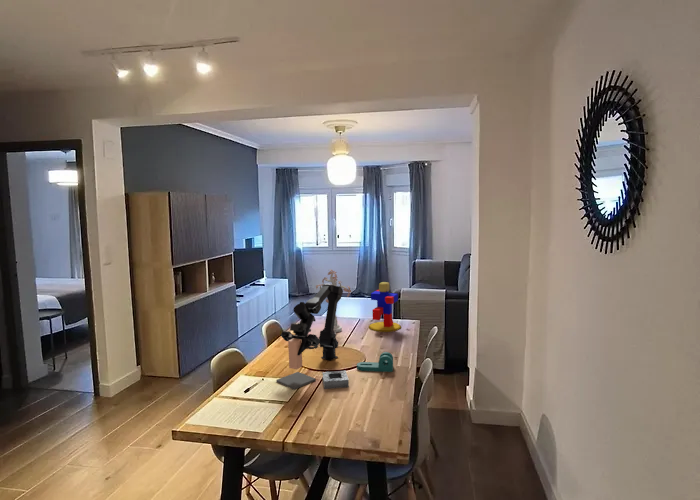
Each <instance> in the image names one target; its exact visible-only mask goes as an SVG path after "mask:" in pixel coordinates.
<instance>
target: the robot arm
mask: <svg viewBox="0 0 700 500" xmlns="http://www.w3.org/2000/svg"><path fill="white" fill-rule="evenodd" d="M322 284H323V286H322V285H321V289H320V288H319V291H318V292H317V293H316V294H315V295H314V297H311V298H310V299H308V300H307V301H305V302H304V301H299V303H298V304H296V305H295V306H294V307H293V313H294V314H295V315H296V317H297V318H298V319H299V320H300V321H299V323H290V327H289V328H290V329H289V330H283V331H281V334H280V337H281V338H282V339H283V340H284V341H286V342H288V341H289V340H291V339H293V338H296V339H301V346H300V348H299V351H298V354H297V355H300V354H301V353H302V354H303V353H304V352H305V350H306V349H309V348H308V347H313V346H312V345H311V343H312V344H313V345H318V346H320V348H322V356H321V357H320V358H321V359H322V360H327V361H333V360H335V359H338V356H336V349H338V348H339V341H338V339H336V338H337V335H335V333H336V332H334V330H333V329H334V322H335V316H336V317H337V314H336V313H337V309H338V302H340V300H341V299H342V297H343V294H344V290H343V289H344V288H341V287H340V285H337V286H334V285H332V283H322ZM326 299H328V301H329V302H328V304H327V308H326V309H327V311H326V317H325V321H324V322H325V323H324V328H323V329H322V330H320V332H319V337H318V336H317V334H314V333H313V334H312V333H311V331H312V329H311V327H312V325H313V322H316V317H315V315H319V313H320V311H321V309H322V304H323V302H325V301H326ZM291 331H292V332H291ZM292 333H293V334H292Z"/></svg>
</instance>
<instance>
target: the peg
mask: <svg viewBox="0 0 700 500" xmlns="http://www.w3.org/2000/svg"><path fill="white" fill-rule="evenodd" d="M301 343H302V340H301V339H296V338H293V339H291V340H289V341H287V345H288V346H287V347H288V367H289V369H291V370H299V369H300V368H302V367H303V352H302V353H301V354H300V355H297V354H298V351H299V348H300V346H301Z"/></svg>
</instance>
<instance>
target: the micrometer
mask: <svg viewBox="0 0 700 500" xmlns="http://www.w3.org/2000/svg"><path fill="white" fill-rule="evenodd" d="M311 345H312V346H309V347H308V348H307V349H308V350H314V348H315V349H317V348H319V345H313V344H312V343H311Z"/></svg>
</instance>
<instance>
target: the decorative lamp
mask: <svg viewBox="0 0 700 500" xmlns="http://www.w3.org/2000/svg"><path fill="white" fill-rule="evenodd" d="M337 273H338V272H337V271H335V270H333V269H330V270H329V271H328V272H327V276H329V275H330V276H329V279H328V277H327V276H325V277H324V278H322V281H321V284H316V285H315V288H316V290H318V288H319V290H320V289H321V288H322V286H323V284H325V282H327V283H328V282H330V283H331V284H332V285H334V286H338V285H339V286H340V287H341V288H342V289H343V292H346V293H347V296H346V298H348V297H350V295H351V293H352V294H353V292H352V289H351V287H350V286H349V285H347V287H346V286H344V285H342V282H341V281H338V276H337ZM324 281H325V282H324ZM337 283H338V285H337ZM325 302H326V303H328V302H329V301H328V298H325ZM333 330H334V332H335V335H336V334H337V333H339V332H340V333H341V332H342V331H343V326H341V325H340V324H338V316H337V315H336V316H335V322H334V329H333ZM336 336H337V335H336Z"/></svg>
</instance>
